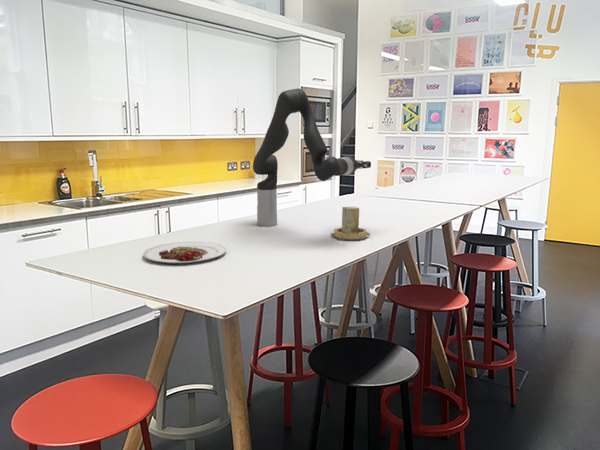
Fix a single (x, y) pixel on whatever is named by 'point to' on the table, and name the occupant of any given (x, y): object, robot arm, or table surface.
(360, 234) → the brass collar
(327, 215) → the table surface
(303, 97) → the robot arm
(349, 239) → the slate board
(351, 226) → the skincare box
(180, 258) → the plated food
